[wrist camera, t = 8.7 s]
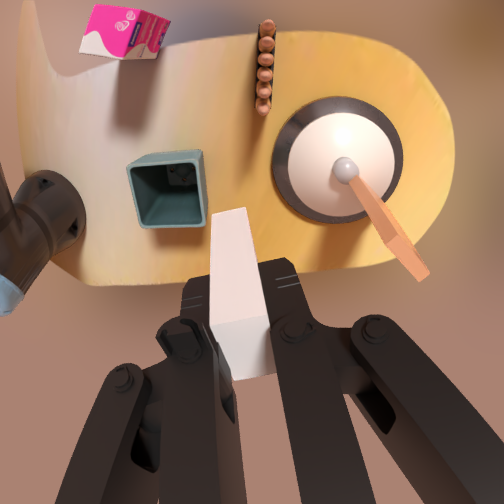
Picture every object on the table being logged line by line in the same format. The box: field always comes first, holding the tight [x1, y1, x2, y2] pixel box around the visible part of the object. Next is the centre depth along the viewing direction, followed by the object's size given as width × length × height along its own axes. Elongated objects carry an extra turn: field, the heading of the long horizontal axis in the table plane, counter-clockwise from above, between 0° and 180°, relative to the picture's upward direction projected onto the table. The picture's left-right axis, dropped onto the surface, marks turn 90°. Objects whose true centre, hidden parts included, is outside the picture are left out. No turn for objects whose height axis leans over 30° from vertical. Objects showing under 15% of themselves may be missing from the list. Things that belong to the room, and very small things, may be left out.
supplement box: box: [79, 4, 171, 60], centre depth 24 cm, size 6×6×12 cm
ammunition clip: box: [254, 20, 276, 116], centre depth 27 cm, size 11×2×12 cm, turn 178°
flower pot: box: [126, 149, 208, 229], centre depth 37 cm, size 9×9×9 cm
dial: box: [288, 112, 430, 282], centre depth 32 cm, size 16×15×17 cm
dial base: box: [272, 96, 403, 224], centre depth 38 cm, size 19×19×4 cm
